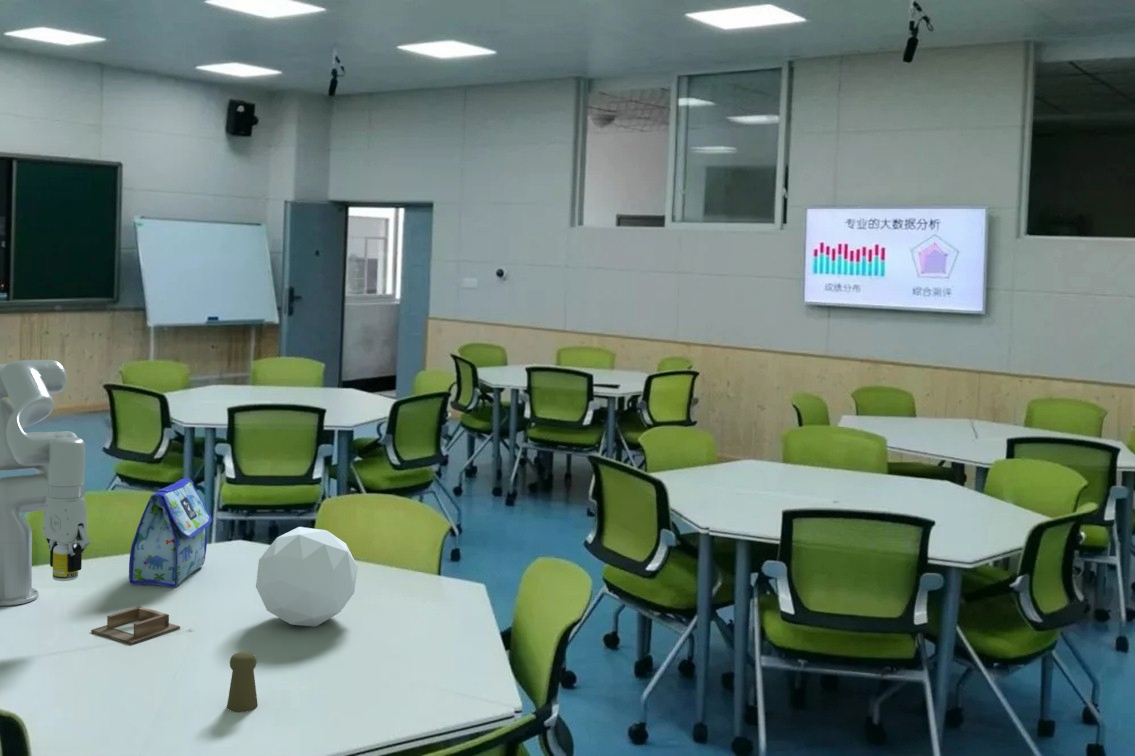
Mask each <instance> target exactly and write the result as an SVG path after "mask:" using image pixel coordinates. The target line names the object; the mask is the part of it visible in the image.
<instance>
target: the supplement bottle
mask: <svg viewBox="0 0 1135 756" xmlns="http://www.w3.org/2000/svg"><path fill="white" fill-rule="evenodd" d="M75 541H76V539H75ZM57 544H58V545H57V546H55V547H54V549H53V567H52V579H53V580H54V581H57V582H71V581H74V580H76V579H78V577H79V570H78V571H74V572H68V555H70V552H69V547H68V544H65V543H61V542H57ZM76 546H77V544H76V543H75V544H74V548H75V547H76Z"/></svg>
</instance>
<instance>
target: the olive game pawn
mask: <svg viewBox="0 0 1135 756" xmlns="http://www.w3.org/2000/svg"><path fill="white" fill-rule="evenodd" d="M256 666H257V656H256V655H255V653H253V652H249V651H239V652H236V653H234V654H233V655H232V656H231V657H230V660H229V667H230V669H231V670H232V673H231V679H230V684H229V685H230V687H229V690H228V697H227V704H226V709H227V708H228V709H229V710H228V709H227V710H228V711H230V710H231V711H230V712H232V711H234V712H233V713H247V711H248V712H251V711H254V710H256V709H257V708H258V707H259V705H258V695H257V688H256V686H257V685H256V679H255V671H254V670H255V668H256ZM257 706H258V707H257Z"/></svg>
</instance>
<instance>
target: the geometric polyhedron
mask: <svg viewBox="0 0 1135 756" xmlns="http://www.w3.org/2000/svg"><path fill="white" fill-rule="evenodd" d="M357 573H358V564H357V562H356V561H355V558H354V557H353V555H352V553H351V550H350V549H349V546H348V545H347V543H346V542H344V541H343V540H342V539H340V538H338V537H337V536H336V535H334V534H333V533H331V532H330V531H328V529H327V530H326V529H319V528H311V527H304V526H298V527H296V528H294V529H292V530H290V531H288V532H285V533H284V534H281V535H279V536H277V537H276V538H275V540H273V542H272V543H271V544H270V546H269V547H268V548H267V549H266V551H265V552H264V553H263V554H262V556H261V557H260V558H259V559H258V564H257V573H256V582H255V588H256V590H257V592H258V594H259V596H260V598H261V601H262V603H263V605H264V607H265V609H266V610H265V611H267V612H268V613H271V614H272V615H273V616H276V617H277V618H279V619H281V620H282V621H284V622H287V624H290V625H292V626H293V625H294V626H295V625H296V626H303V627H304V626H305V627H318V626H319V625H321V624H322V623H324V622H326V621H328V620H329V619H331V618H333V617H335V616H336V615H338V614H339V613H341V612H342V610H343V609H344V608H345V606H346V604H348V602H349V601H350V599H351V598H353V595H354V593H355V590H356V582H357Z"/></svg>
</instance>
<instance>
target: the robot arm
mask: <svg viewBox="0 0 1135 756" xmlns="http://www.w3.org/2000/svg"><path fill="white" fill-rule="evenodd" d="M67 378H68V376H67V373H66V369H65V367H64V366H63V365H62V363H61V362H59V361H57V360H54V359H24V360H23V359H21V360H14V361H11V362H8V363H0V472H16V471H27V470H34V471H35V472H36V473H33V474H21V475H20V474H19V475H11V476H10V475H9V476H2V477H0V607H1V606H3V607H4V606H6V607H7V606H16V605H17V606H18V605H21V604H26V603H30V602H32V601H34V600H37V598H39V591H38V590H37V589H36V588H33V587H32V586H33V585H32V584H33V583H32V580H33V578H32V577H33V566H32V564H33V563H32V562H33V561H32V559H33V558H32V555H33V552H32V551H33V549H32V547H33V546H32V545H33V544H32V543H33V540H32V538H33V535H32V528H31V526H30V524H29V523H28V522H27V521H26V520H25V519H24V518H23V516H22V514H26V513H32V512H34V513H35V512H41V511H43V519H42V522H43V523H42V535H43V537H44V538H45V539H46V541H47V543H48V547H47V548H48V549H49V550H50V551H49V553H50V557H49V566H50V567H51V568H53V549H54V547H55V546H57V545H58V544H57V542H61V543H65V544H68V547H69V552H70V555H68V572H74V571H78V572H79V571H81V570H82V560H83V558H82V557H83V555H82V554H83V553H84V551H85V550H86V549H87V547H88V546H89V545H90V543H91V541H90V538H89V536H88V514H87V505H86V500H85V499H86V498H85V489H86V487H85V482H86V481H85V477H86V476H85V474H86V473H85V472H86V471H85V470H86V469H85V467H86V465H85V464H86V463H85V462H86V460H85V459H86V443H85V441H84V440H83V439H82V438H80V437H78V436H77V433H74V432H73V431H69V430H62V431H61V430H59V431H31V432H25V431H24V430H25V429H27V428H29V427H31V426H33V425H35V424H38V423H39V422H41V421H44V420H45V419H46V418H47V417H49V416H50V415H51V414H52V412H53V411H54V407H55V401H54V399H53V397H52V396H51V395H56V394H60V393H61V392H63V391H65V388H66V387H67ZM5 398H8V399H9V400H10V401H8V400H7V399H5ZM75 539H76V541H75ZM74 544H75V545H77V546H76V547H75V548H74Z"/></svg>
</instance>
